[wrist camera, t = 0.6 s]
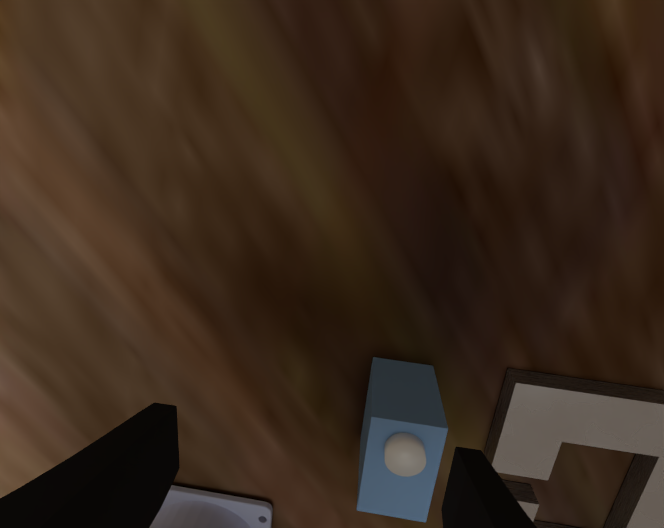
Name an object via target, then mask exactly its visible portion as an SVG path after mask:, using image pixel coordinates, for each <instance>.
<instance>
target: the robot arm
mask: <svg viewBox="0 0 664 528" xmlns="http://www.w3.org/2000/svg"><path fill="white" fill-rule="evenodd" d="M178 470H179V448H178V428H177V407H176V406H173V405H167V404H160V403H153V404H151V405H150V406H148V407H147V408H145V409H143V410H142V411H140V412H139V413H137V414H136V415H134V416H133V417H131V418H130V419H128V420H127V421H125V422H124V423H122V424H121V425H119V426H118V427H116V428H115V429H113V430H112V431H110V432H109V433H107V434H106V435H104V436H103V437H101V438H100V439H98V440H96V441H95V442H93V443H92V444H90V445H89V446H87V447H86V448H84V449H83V450H81V451H80V452H78V453H76V454H75V455H73V456H72V457H70V458H68V459H67V460H65V461H64V462H62V463H60V464H59V465H57V466H55V467H54V468H52V469H50V470H49V471H47V472H45V473H44V474H42V475H40V476H39V477H37V478H35V479H34V480H32V481H30V482H29V483H27V484H25V485H24V486H22V487H20V488H18V489H17V490H15V491H13V492H11V493H10V494H8V495H6V496H4V497H2V498H0V528H272V513H273V508H272V506H271V504H269V503H268V502H265V501H259V500H254V499H248V498H242V497H237V496H231V495H225V494H220V493H214V492H208V491H203V490H197V489H191V488H186V487H180V486H174V485H172V483H173V481H174V479H175V476H176V474H177V472H178ZM442 519H443V528H537V527H536V526H535V524H534V523H533V522H532V520H531V519H530V518H529V516H528V515H527V514H526V512H525V511H524V510H523V508H522V507H521V506H520V504H519V503H518V501H517V500H516V499H515V497H514V496H513V494H512V493H511V492H510V490H509V489H508V488H507V486H506V485H505V483H504V482H503V480H502V479H501V478H500V476H499V475H498V473H497V472H496V471H495V469H494V468H493V466H492V465H491V463H490V462H489V461H488V459H487V458H486V456H485V455H484V454H483V452H482V451H481V450H475V449H469V448H462V447H456V448H455V452H454V457H453V461H452V465H451V470H450V474H449V479H448V483H447V487H446V492H445V496H444V501H443V505H442Z"/></svg>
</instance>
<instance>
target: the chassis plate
mask: <svg viewBox="0 0 664 528" xmlns="http://www.w3.org/2000/svg"><path fill="white" fill-rule="evenodd" d="M562 442H567V443H574V444H580V445H587V446H593V447H599V448H606V449H612V450H619V451H625V452H631V453H636V455H635V457H634V460H633V462H632V464H631V467H630V469H629V471H628V473H627V476H626V478H625V480H624V482H623V485H622V487H621V489H620V492H619V494H618V496H617V498H616V501H615V503H614V505H613V508H612V510H611V512H610V514H609V517H608V519H607V521H606V523H605V526H604V528H664V391H663V390H656V389H649V388H642V387H635V386H628V385H621V384H615V383H608V382H601V381H594V380H587V379H580V378H573V377H566V376H559V375H552V374H545V373H538V372H531V371H525V370H518V369H511V368H508V369H507V373H506V377H505V380H504V384H503V387H502V391H501V394H500V398H499V401H498V405H497V408H496V412H495V416H494V419H493V423H492V426H491V430H490V433H489V437H488V440H487V444H486V447H485V451H484V454H485V456H486V458H487V459H488V461H489V462H490V463H491V465H492V466H493V468H494V469H495V471H496V472H499V473H506V474H512V475H518V476H524V477H530V478H536V479H542V480H548V479H549V476H550V473H551V470H552V468H553V465H554V462H555V459H556V457H557V454H558V451H559V448H560V445H561V443H562ZM503 482H504V483H505V485H506V486H507V488H508V489H509V490H510V492H511V493H512V494H513V496H514V497H515V499H516V500H517V501H518V503H519V504H520V506H521V507H522V508H523V510H524V511H525V512H526V514H527V515H528V516H529V518H530V519H531V520H532V522H533V523H534V524H535V526H536V527H537V528H576V527H571V526H565V525H559V524H553V523H547V522H541V521H536V520H534V518H535V515H536V512H537V510H538V507H539V503H538V501H537V498H536V496H535V494H534V491H533V489H532V487H531V485H529V484H523V483H517V482H511V481H505V480H503Z"/></svg>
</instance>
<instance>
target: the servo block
mask: <svg viewBox="0 0 664 528" xmlns="http://www.w3.org/2000/svg"><path fill="white" fill-rule="evenodd" d="M447 431H448V426H447V422H446V418H445V414H444V409H443V405H442V401H441V397H440V393H439V388H438V384H437V380H436V376H435V372H434V367H433V366H431V365H424V364H418V363H411V362H404V361H397V360H390V359H383V358H376V357H373V360H372V366H371V373H370V379H369V386H368V393H367V399H366V406H365V412H364V419H363V426H362V432H361V442H360V459H359V477H358V494H357V511H363V512H369V513H374V514H380V515H386V516H391V517H397V518H403V519H409V520H414V521H420V522H426V519H427V515H428V511H429V507H430V503H431V498H432V494H433V490H434V486H435V482H436V477H437V473H438V469H439V465H440V461H441V456H442V452H443V448H444V444H445V440H446V435H447Z"/></svg>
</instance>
